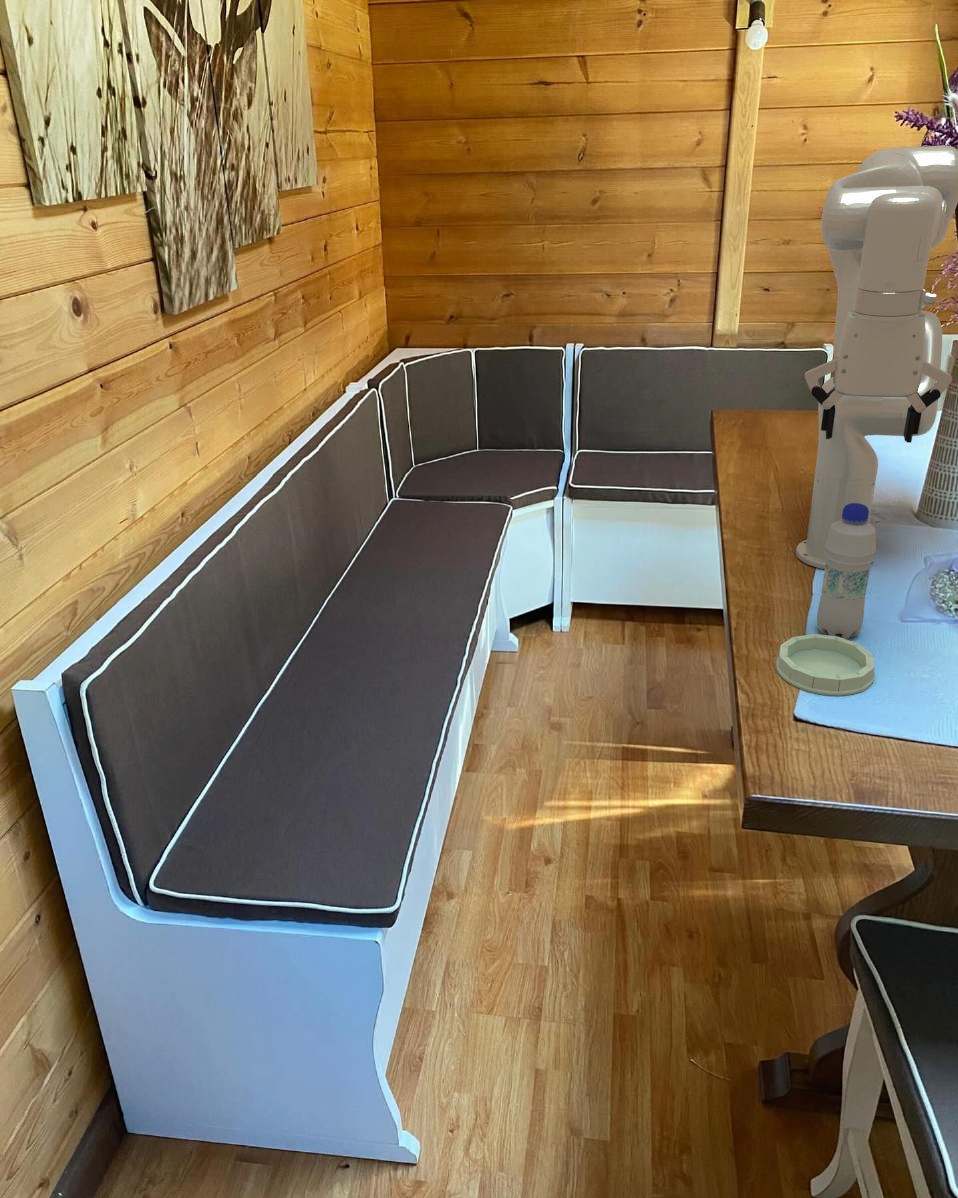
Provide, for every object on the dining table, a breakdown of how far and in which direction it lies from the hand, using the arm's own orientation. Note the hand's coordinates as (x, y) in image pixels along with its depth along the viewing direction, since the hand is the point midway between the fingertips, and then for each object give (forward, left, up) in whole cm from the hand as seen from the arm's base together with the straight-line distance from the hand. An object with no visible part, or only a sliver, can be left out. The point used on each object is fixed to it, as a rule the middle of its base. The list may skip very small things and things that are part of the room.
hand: (867, 437), depth 118 cm
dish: (+11, -2, -30) cm, 32 cm away
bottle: (-1, 0, -30) cm, 30 cm away
